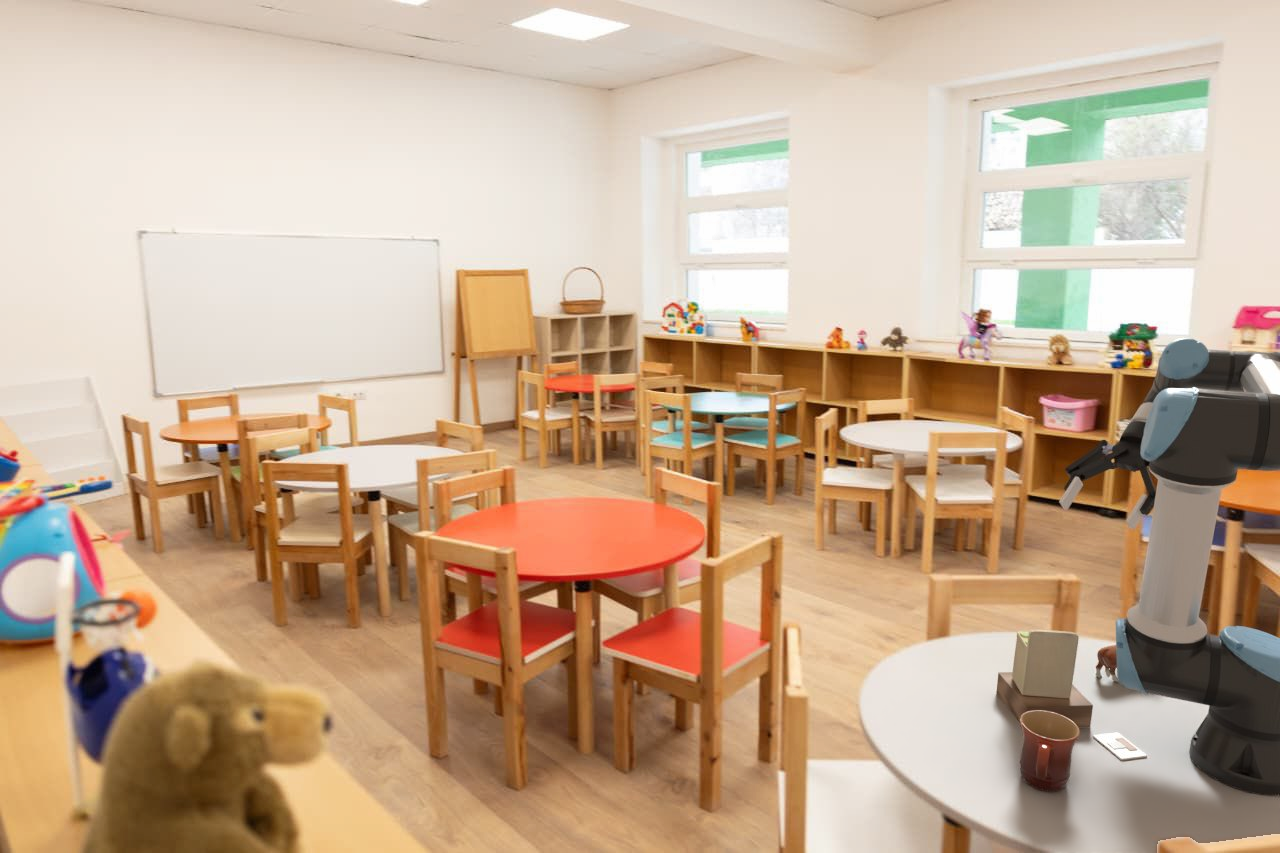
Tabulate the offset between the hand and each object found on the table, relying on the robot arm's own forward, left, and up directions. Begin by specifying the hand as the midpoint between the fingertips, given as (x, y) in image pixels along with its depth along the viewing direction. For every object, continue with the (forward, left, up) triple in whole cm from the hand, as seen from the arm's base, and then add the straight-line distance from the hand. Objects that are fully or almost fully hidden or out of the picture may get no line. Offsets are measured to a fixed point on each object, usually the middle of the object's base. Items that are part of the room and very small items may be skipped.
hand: (1095, 515), depth 166 cm
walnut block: (-11, +16, -34) cm, 39 cm away
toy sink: (-11, +16, -29) cm, 35 cm away
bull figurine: (-3, -8, -34) cm, 35 cm away
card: (-24, +10, -34) cm, 43 cm away
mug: (-31, +30, -34) cm, 55 cm away
